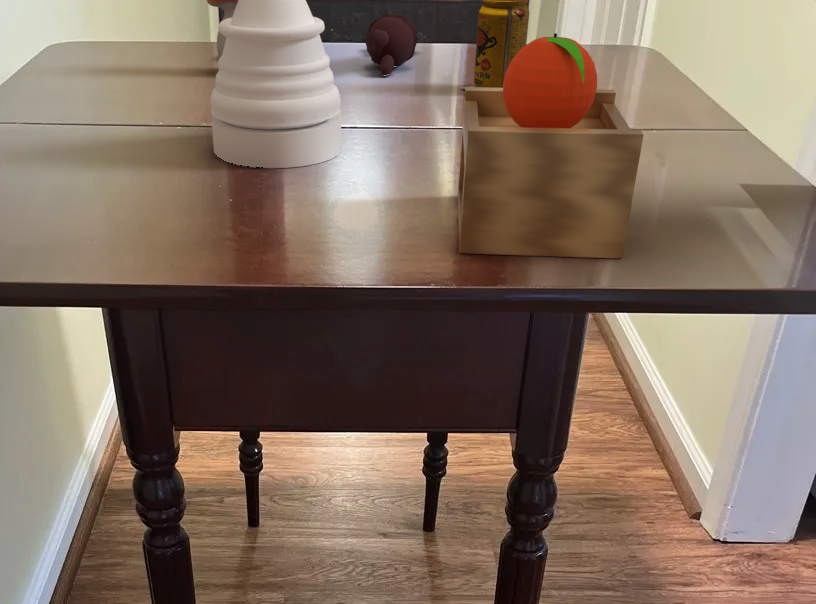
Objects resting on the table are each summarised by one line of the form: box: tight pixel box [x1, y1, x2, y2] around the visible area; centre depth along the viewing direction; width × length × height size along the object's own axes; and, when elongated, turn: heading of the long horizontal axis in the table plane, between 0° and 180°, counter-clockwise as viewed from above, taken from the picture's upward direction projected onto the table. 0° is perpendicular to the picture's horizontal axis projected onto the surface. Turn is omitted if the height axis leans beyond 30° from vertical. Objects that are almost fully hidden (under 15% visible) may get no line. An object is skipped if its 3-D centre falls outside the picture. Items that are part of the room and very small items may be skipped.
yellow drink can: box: [459, 0, 530, 90], centre depth 113 cm, size 7×8×12 cm
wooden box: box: [457, 86, 645, 260], centre depth 72 cm, size 12×14×9 cm
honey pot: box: [209, 0, 342, 169], centre depth 88 cm, size 13×13×18 cm
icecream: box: [364, 13, 419, 76], centre depth 126 cm, size 7×7×15 cm
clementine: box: [503, 32, 598, 128], centre depth 69 cm, size 8×7×7 cm
